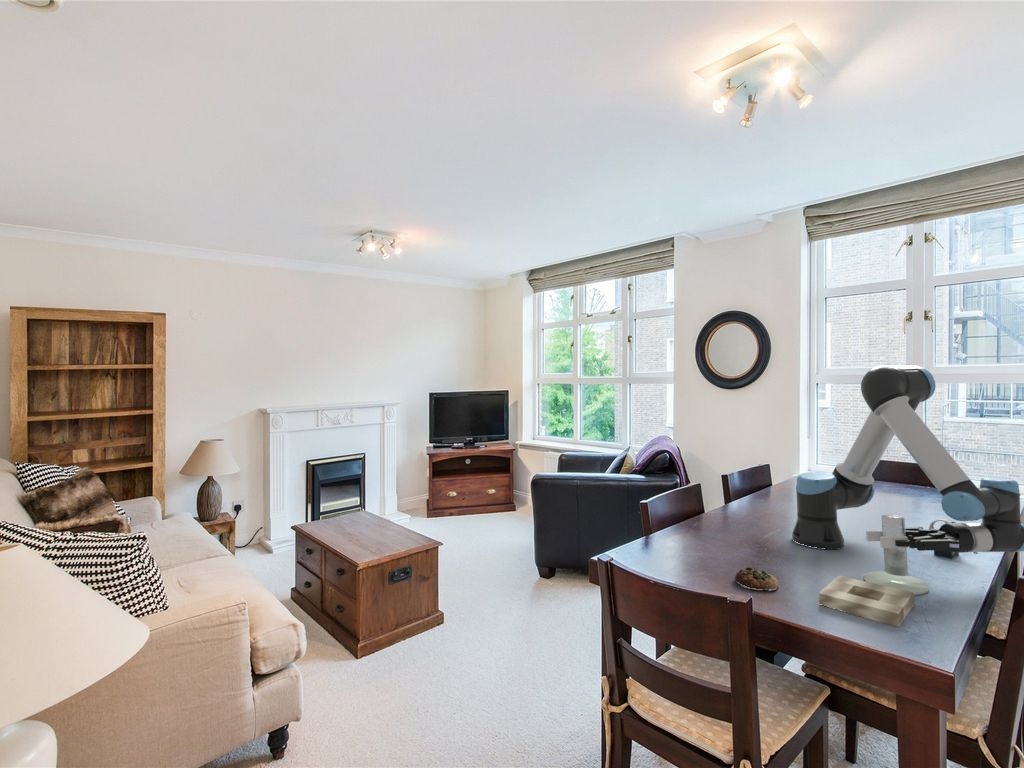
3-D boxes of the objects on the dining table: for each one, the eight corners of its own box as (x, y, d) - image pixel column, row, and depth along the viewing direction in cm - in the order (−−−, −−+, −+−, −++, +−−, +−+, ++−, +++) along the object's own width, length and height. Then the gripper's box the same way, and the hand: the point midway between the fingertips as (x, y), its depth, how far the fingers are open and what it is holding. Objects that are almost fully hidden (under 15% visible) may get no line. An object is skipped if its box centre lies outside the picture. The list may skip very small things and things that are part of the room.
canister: (882, 572, 136) (879, 517, 137) (887, 568, 139) (883, 513, 140) (905, 577, 132) (902, 519, 133) (910, 572, 136) (906, 516, 136)
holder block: (819, 605, 125) (818, 593, 125) (839, 586, 136) (838, 575, 136) (899, 627, 113) (898, 613, 113) (913, 604, 124) (913, 592, 124)
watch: (959, 560, 152) (958, 524, 152) (927, 553, 159) (926, 518, 159) (967, 556, 154) (965, 521, 154) (934, 549, 161) (933, 515, 161)
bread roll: (727, 584, 139) (729, 566, 139) (743, 578, 147) (745, 561, 147) (770, 597, 131) (771, 578, 131) (785, 590, 139) (786, 572, 139)
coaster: (857, 584, 137) (857, 581, 137) (871, 570, 146) (871, 567, 146) (923, 599, 126) (923, 596, 126) (933, 583, 136) (933, 580, 136)
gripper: (994, 563, 126) (898, 564, 127) (937, 541, 144) (853, 542, 145) (993, 533, 126) (897, 535, 127) (936, 515, 144) (852, 516, 145)
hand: (874, 539), depth 136 cm, fingers closed on canister, 5 cm apart
